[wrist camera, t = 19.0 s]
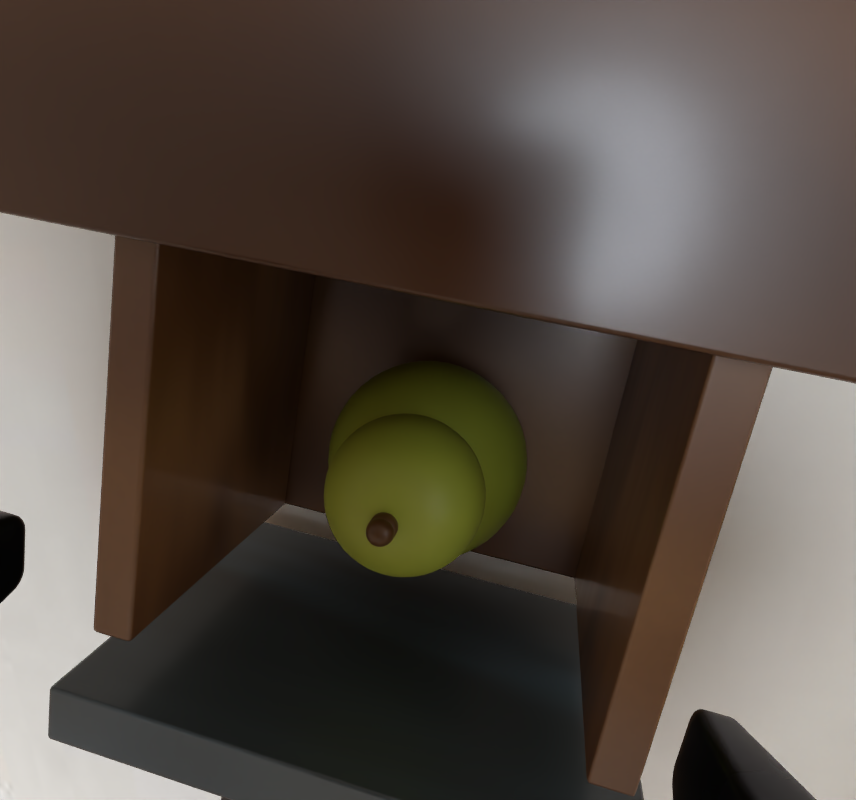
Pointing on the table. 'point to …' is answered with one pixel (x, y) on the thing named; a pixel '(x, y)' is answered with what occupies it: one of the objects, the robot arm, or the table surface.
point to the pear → (422, 468)
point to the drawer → (370, 591)
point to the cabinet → (468, 153)
